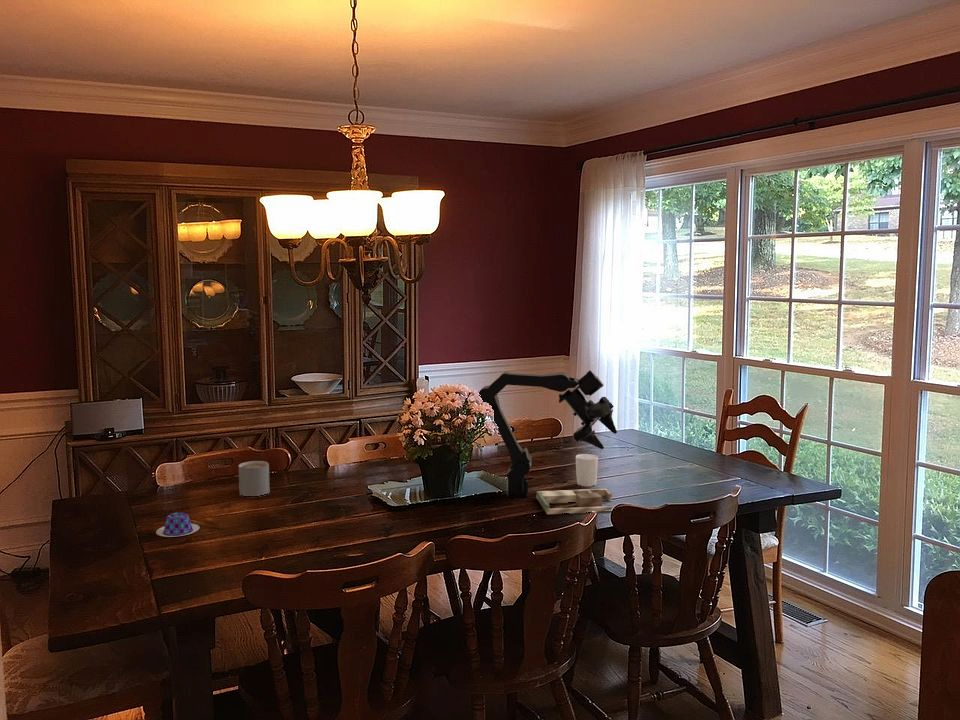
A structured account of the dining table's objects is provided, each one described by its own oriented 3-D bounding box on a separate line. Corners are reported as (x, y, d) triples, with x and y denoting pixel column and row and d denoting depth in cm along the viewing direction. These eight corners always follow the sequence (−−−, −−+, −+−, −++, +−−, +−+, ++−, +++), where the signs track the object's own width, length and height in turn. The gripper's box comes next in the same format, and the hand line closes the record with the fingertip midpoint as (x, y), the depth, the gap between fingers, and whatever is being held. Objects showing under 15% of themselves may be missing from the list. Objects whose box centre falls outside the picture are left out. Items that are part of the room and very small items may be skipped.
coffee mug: (270, 495, 270) (269, 466, 268) (239, 498, 267) (238, 469, 266) (268, 485, 282) (267, 457, 281) (239, 487, 279) (238, 459, 278)
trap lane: (547, 514, 249) (547, 506, 248) (536, 498, 265) (536, 491, 265) (621, 511, 252) (621, 503, 251) (606, 495, 268) (606, 488, 268)
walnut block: (580, 510, 253) (581, 498, 253) (576, 505, 258) (576, 493, 258) (601, 509, 255) (602, 496, 254) (596, 504, 260) (596, 492, 259)
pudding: (149, 532, 234) (148, 515, 233) (188, 522, 243) (187, 506, 242) (167, 542, 226) (166, 524, 225) (207, 532, 234) (206, 514, 234)
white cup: (580, 487, 278) (580, 460, 277) (572, 482, 286) (572, 454, 284) (601, 486, 280) (601, 458, 279) (592, 480, 288) (592, 453, 286)
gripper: (580, 410, 251) (611, 448, 251) (608, 380, 263) (638, 417, 263) (559, 422, 259) (590, 459, 259) (587, 393, 271) (616, 428, 272)
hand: (609, 440), depth 263 cm, fingers open, 9 cm apart
